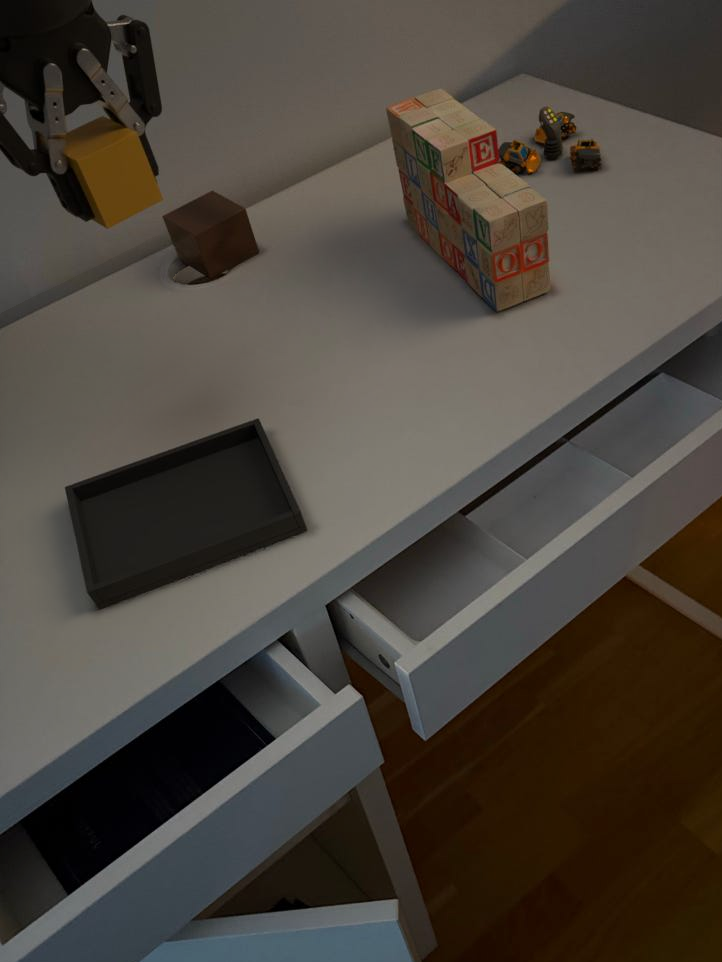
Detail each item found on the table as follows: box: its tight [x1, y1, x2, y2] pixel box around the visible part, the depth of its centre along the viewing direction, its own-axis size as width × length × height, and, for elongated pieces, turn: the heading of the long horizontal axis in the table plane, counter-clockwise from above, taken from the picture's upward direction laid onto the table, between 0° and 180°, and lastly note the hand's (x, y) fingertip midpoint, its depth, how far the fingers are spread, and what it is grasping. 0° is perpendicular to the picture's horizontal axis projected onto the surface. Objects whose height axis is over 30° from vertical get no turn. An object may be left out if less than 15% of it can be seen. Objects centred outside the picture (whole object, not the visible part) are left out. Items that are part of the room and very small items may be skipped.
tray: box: [64, 417, 308, 610], centre depth 77 cm, size 17×13×2 cm
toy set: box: [498, 106, 602, 174], centre depth 105 cm, size 12×11×5 cm
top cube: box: [65, 115, 164, 230], centre depth 69 cm, size 5×5×5 cm
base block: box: [162, 190, 260, 280], centre depth 101 cm, size 6×6×5 cm
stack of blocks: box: [385, 88, 551, 312], centre depth 92 cm, size 21×6×12 cm, turn 27°
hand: (116, 199), depth 71 cm, fingers closed on top cube, 5 cm apart
